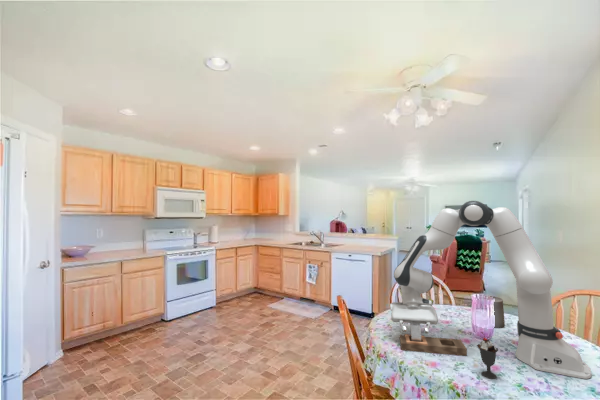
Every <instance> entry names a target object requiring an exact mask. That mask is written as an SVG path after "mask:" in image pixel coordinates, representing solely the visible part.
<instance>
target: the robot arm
mask: <svg viewBox="0 0 600 400" xmlns="http://www.w3.org/2000/svg"><path fill="white" fill-rule="evenodd" d="M464 225H467V226H471V227H478V226H486V227H487V228H488V229H489V231H490V232H491V234H492V236H493V238H494V239H495V241H496V243H497V245H498V247H499V248H500V251H501V252H502V254H503V256H504V258H505V260H506V262H507V265H508V267H509V268H510V270H511V273H512V274H513V276H514V278H515V283H516V296H517V297H516V298H517V317H518V318H517V319H518V320H517V321H516V322H517V323H516V329H517V330H516V331H517V335H518V341H517V347H516V352H515V357H516V358H517V359H518V360H520V361H521V362H523V363H525V364H527V365H529V366H530V367H531V368H533V369H535V370H537V371H541V372H547V373H551V374H557V375H563V376H568V377H572V378H577V379H578V378H579V379H584V380H589V379H591V377H592V376H593V375H592V374H593V373H592V370H591V367H590V366H589V365H588V364H587V363H586V362H584V361H583V360H582V357H581V354H580V352H579V351H578V349H576V348H575V347H574V346H572V345H571V344H569V343H568V342H567V341H566V340H564V339H563V338H564V334H563V333H562V332H561V330H560V328H559V327H555V326H554V313H553V310H554V309H553V302H552V294H551V288H552V286H553V281H554V280H553V276H551V274H550V271H549V270H548V268H547V266H546V265H545V263H544V261H543V260H542V258H541V256H540V255H539V253H538V251H537V250H536V248H535V246H534V244H533V242H532V240H531V239H530V237H529V236H528V234H527V232H526V231H525V229H524V227H523V225H522V223H521V222H520V221H519V220H518V218H517V216H516V215H515V214H514V213H513V212H512V211H511V209H509V208H508V207H505V206H498V207H495V208H491V207H489V206H487V205H486V204H484V203H483V202H481V201H478V200H469V201H466V202H464V203H463V204H462V205H461V207H460V208H459V209H453V208H450V207H448V208H443V209H442V208H441V209H440V211H439V212H438V213H437V215H436V216H435V217H434V220H433V222H432V224H431V226H430V228H429V229H428V230H427V232H426V233H424V234H423V235H419V236H418V237H417V238H416V239H415V241H414V243H413V244H412V245H411V247H410V248H409V250H408V252H407V253H406V254H405V256H404V258H403V259H402V260H401V262H400V263H399V264H398V265H397V266H396V267H395V269H394V271H393V278H394V280H395V281H396V283H397V285H399V286H400V291H401V302H396V301H393V302H391V303H390V304H389V309H390V311H391V313H390V315H391V318H390V319H391V321H392V322H393V323H398V324H399V325H400V327H401V329H402V332H404V333H406V332H407V327H406V326H404V324H403V323H405V324H410V322H411V323H420V325H422V324H423V325H426V327H424V333H425V334H429V333H430V332H429V331H430V330H429V329H430V328H431V327H430V326H431V325H432V326H433V325H434V326H435V325H437V324H438V323H439V322H438V321H439V319H438V313H437V310H436V309H435V306H433V305H432V301H431V300H428V299H429V298H424V297H421V294H424V293H427V292H429V291H430V290H432V289H433V287H434V277H433V274H432V273H431V272H429V271H425V270H423V269H419V268H416V267H414V265H415V264H416V262H417V261H418V260H419V259H420V257H421V255H422V254H423V253H425V252H428V251H437V250H438V251H439V250H440V251H441V250H444V249H447V248H449V247H450V246H451V245H452V244H453V242H454V240H455V238H456V235H457V233H458V231H459V230H460V228H461V227H462V226H464Z"/></svg>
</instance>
